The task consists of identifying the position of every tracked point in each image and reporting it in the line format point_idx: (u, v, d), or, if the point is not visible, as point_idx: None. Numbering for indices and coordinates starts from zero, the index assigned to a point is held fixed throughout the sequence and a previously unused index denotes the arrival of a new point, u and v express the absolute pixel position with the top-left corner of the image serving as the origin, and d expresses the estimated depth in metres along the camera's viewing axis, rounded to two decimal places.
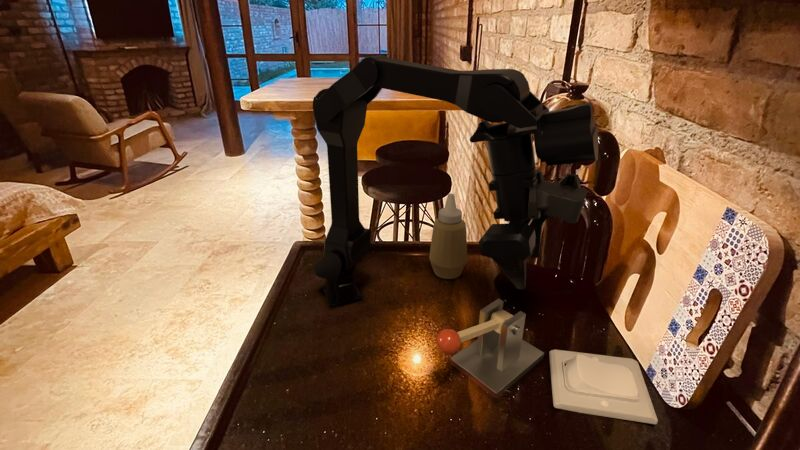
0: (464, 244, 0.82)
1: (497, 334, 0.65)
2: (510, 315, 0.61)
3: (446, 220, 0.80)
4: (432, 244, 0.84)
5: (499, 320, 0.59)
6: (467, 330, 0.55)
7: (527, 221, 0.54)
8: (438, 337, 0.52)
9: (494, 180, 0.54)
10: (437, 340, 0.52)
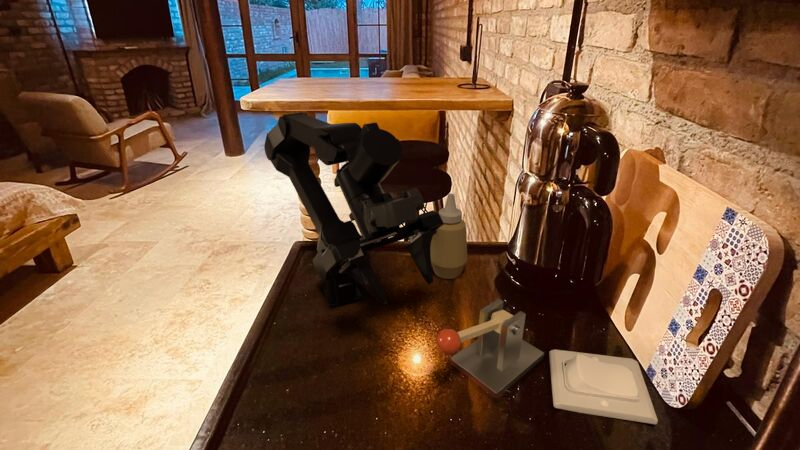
0: (464, 244, 0.82)
1: (497, 334, 0.65)
2: (510, 315, 0.61)
3: (446, 220, 0.80)
4: (432, 244, 0.84)
5: (499, 320, 0.59)
6: (467, 330, 0.55)
7: (379, 237, 0.58)
8: (438, 337, 0.52)
9: None
10: (437, 340, 0.52)
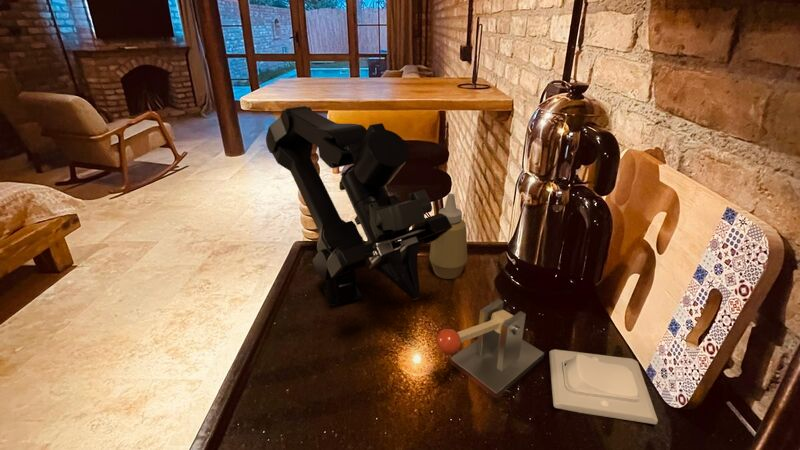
0: (464, 244, 0.82)
1: (497, 334, 0.65)
2: (510, 315, 0.61)
3: None
4: (432, 244, 0.84)
5: (499, 320, 0.59)
6: (467, 330, 0.55)
7: (408, 234, 0.59)
8: (438, 337, 0.52)
9: None
10: (437, 340, 0.52)
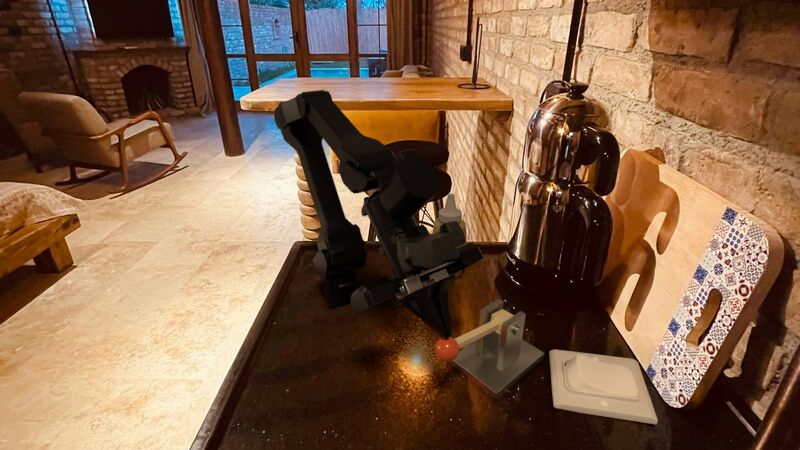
0: (464, 244, 0.82)
1: (497, 334, 0.65)
2: (510, 314, 0.61)
3: (446, 220, 0.80)
4: None
5: (498, 321, 0.59)
6: (466, 335, 0.56)
7: (437, 266, 0.54)
8: (436, 346, 0.53)
9: None
10: (435, 349, 0.53)
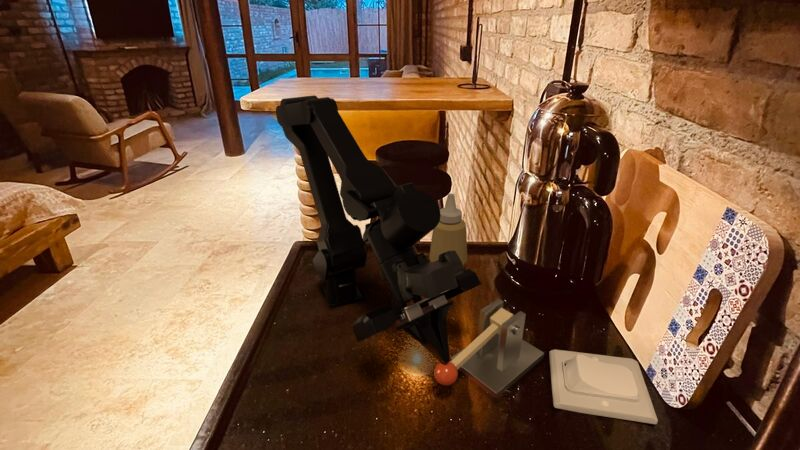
0: (464, 244, 0.82)
1: (497, 334, 0.65)
2: (508, 313, 0.60)
3: (446, 220, 0.80)
4: (432, 244, 0.84)
5: (497, 324, 0.59)
6: (464, 352, 0.57)
7: None
8: (435, 373, 0.55)
9: None
10: (435, 376, 0.55)
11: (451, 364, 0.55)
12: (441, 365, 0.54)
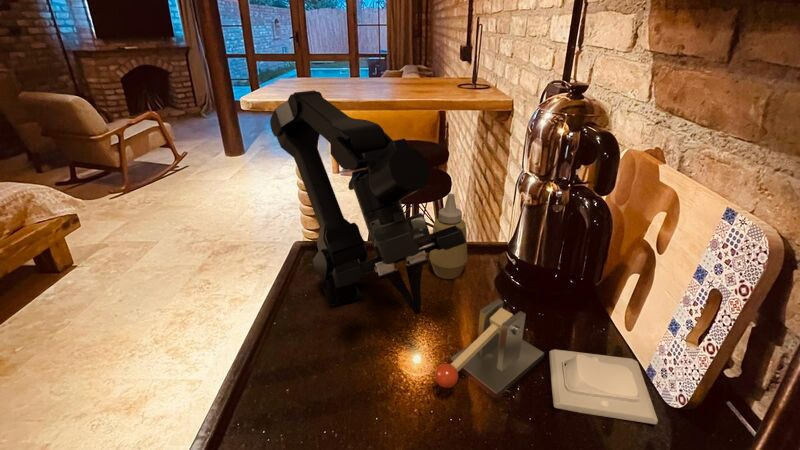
0: (464, 244, 0.82)
1: (497, 334, 0.65)
2: (508, 313, 0.60)
3: (446, 220, 0.80)
4: None
5: (497, 325, 0.59)
6: (464, 354, 0.57)
7: None
8: (435, 376, 0.55)
9: None
10: None
11: (451, 367, 0.55)
12: (441, 368, 0.55)
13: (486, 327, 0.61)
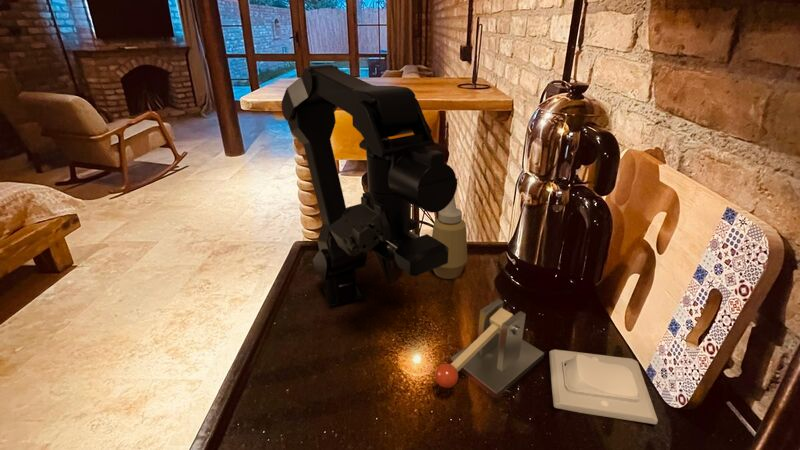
0: (464, 244, 0.82)
1: (497, 334, 0.65)
2: (508, 313, 0.60)
3: (446, 220, 0.80)
4: None
5: (497, 325, 0.59)
6: (464, 354, 0.57)
7: (392, 241, 0.55)
8: (435, 376, 0.55)
9: None
10: None
11: (451, 367, 0.55)
12: (441, 368, 0.55)
13: (486, 327, 0.61)
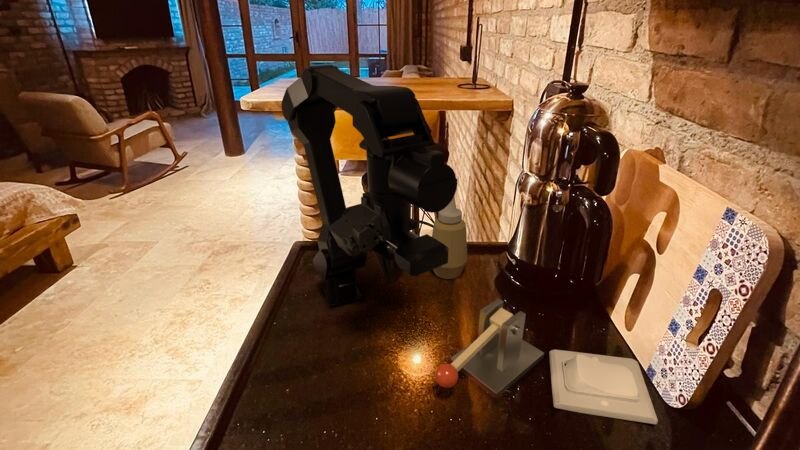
0: (464, 244, 0.82)
1: (497, 334, 0.65)
2: (508, 313, 0.60)
3: (446, 220, 0.80)
4: None
5: (497, 325, 0.59)
6: (464, 354, 0.57)
7: (392, 241, 0.55)
8: (435, 376, 0.55)
9: None
10: None
11: (451, 367, 0.55)
12: (441, 368, 0.55)
13: (486, 327, 0.61)
